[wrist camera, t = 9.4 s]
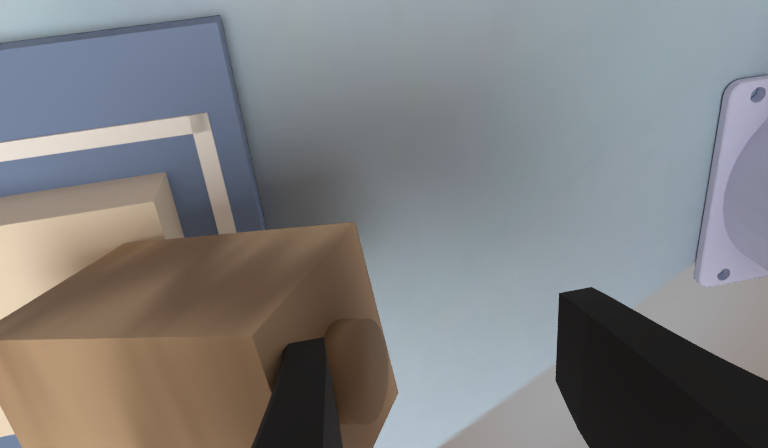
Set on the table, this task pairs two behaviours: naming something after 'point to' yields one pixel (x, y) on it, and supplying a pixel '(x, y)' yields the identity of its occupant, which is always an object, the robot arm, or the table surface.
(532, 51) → the table surface
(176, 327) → the oak block
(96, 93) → the blueprint board
